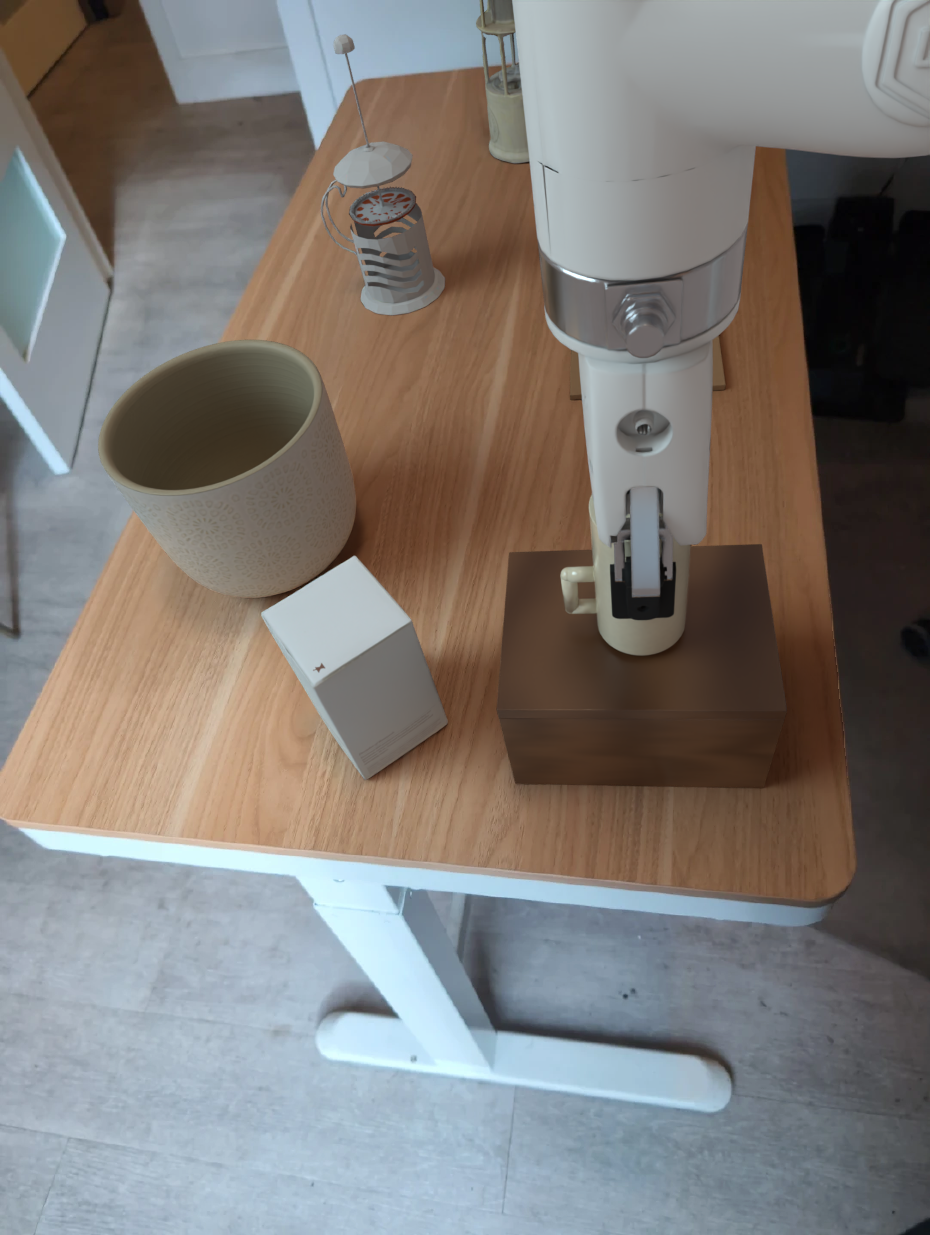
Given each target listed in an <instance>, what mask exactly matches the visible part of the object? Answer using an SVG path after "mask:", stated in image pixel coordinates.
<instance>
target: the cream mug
mask: <svg viewBox="0 0 930 1235" xmlns="http://www.w3.org/2000/svg"><path fill="white" fill-rule="evenodd" d="M659 516H663V514H660V513H659ZM588 518H589V519H588V520H589V532H590V544H591V550H592V560H593V566H579V567H566V568H564V569H563V570H562V571H561V574H560V576H561V584H562V592H563V600H564V608H565V610H566V612H567V613H569V614H597V625H598V629H599V632H600V634H601V635H602V637H603V638H604V640H605V641H606V642H607V643H608V644H609V645H611V646H612V647H613V648H615V649H617V650H619V651H621V652H624V653H627V654H631V655H641V656H643V655H652V654H656V653H659V652H662V651H664V650H666V649H668V648H670V647H671V646H672V645H674V644H675V643H676V642H677V641H678V640H679V638H680V637H681V635H682V633H683V632H684V629H685V624H686V613H687V599H688V585H689V571H690V557H691V546H692V545H682V546H680V545H679V544H678V543H677V541H676V540H675V538H674V537H673V562H676V585H675V605H674V615H673V616H671V617H669V618H655V619H652V620H633V619H616V618H614V617H613V616H612V604H611V583H610V564H614V543H612V548H610V547H608V546H607V545H605V544H604V543H603V542H602V541H601V540H600V539H599V536H598V530H597V524H596V516H595V509H594V503H593V496H592V494H591V495H590V497H589V500H588ZM626 518H630V514H627V516H626ZM659 548H660V558H661V539H659ZM626 556H631V540H625V562H626ZM579 582H594V587H595V598H588V599H579V594H578V584H577V583H579Z"/></svg>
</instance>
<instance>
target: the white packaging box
mask: <svg viewBox="0 0 930 1235" xmlns="http://www.w3.org/2000/svg"><path fill="white" fill-rule="evenodd" d="M260 615H261V618H262V620H263V622H264V624H265V625H266V627H267V629H268V631H269V633H270V635H272V638H273V639H274V640H273V641H275V643H276V644H277V646H278V648H279V650H280V651H281V653H282V655H283V656H284V658H285V660H286V662H287V663H288V664H289V666H290V668H291V670H292V671H293V673H294V674H295V676H296V678H297V679H298V681H299V683H300V684H301V686H302V688H303V689H304V691H305V693H306V694H307V696H308V698H309V700H310V701H311V703H312V705H313V707H314V708H315V710H316V712H317V713H318V715H319V717H320V719H321V720H322V721H323V723H324V724H325V727H326V728H327V729H328V731H329V732H330V734H331V736H332V737H333V738H334V740H335V741H336V743H337V744H338V745H339V747H340V748H341V749H342V751H343V753H344V754H345V755H346V757H347V758H348V759H349V761H350V762H351V764H352V765H353V766H354V767H355V769H356V771H357V772H358V773H359V775H360V776H361V777H362V779H363V780H364V781H367V780H369V779H370V778H371V777H374V776H375V775H377V774H378V773H379V772H381V771H383V769H385V768H387V767H388V766H390V765H391V764H392V763H394V762H396V761H397V760H399V759H400V758H401V757H403V756H404V755H406V754H407V753H408V752H410V751H411V750H413V749H414V748H416V747H417V746H419V745H420V744H421V743H423V742H424V741H426V740H427V739H429V738H430V737H432V736H433V735H434V734H436V733H437V732H439V731H441V729H444V727H445V726H446V725H448V722H449V720H448V717H447V714H446V712H445V710H444V706H443V703H442V700H441V698H440V696H439V692H438V689H437V687H436V684H435V681H434V678H433V675H432V673H431V670H430V667H429V665H428V662H427V659H426V657H425V653H424V651H423V648H422V645H421V642H420V639H419V637H418V634H417V630H416V628H415V625H414V622H413V619H412V618H411V617H410V616H409V615H408V614H407V612H406V611H405V610H404V609H403V607H402V606H401V605H400V604H399V603H398V602H397V601H396V600H395V598H394V597H393V596H392V594H390V593H389V591H388V590H387V589H386V588H385V587H384V586H383V585H382V583H381V582H380V581H379V580H378V578H377V577H376V576H374V575H373V573H372V572H371V570H370V569H368V568H367V567H366V565H365V564H364V563H363V562H362V561H361V560H360V559H359V558H358V556H356V555H353V556H351V557H350V558H348V559H347V560H345V561H343V562H342V563H340V564H338V565H336V566H334V567H333V568H332V569H330V570H328V571H327V572H325V573H324V574H322V575H320V576H318V577H317V578H315V579H313V580H312V581H310V582H309V583H308V584H306V585H304V586H303V587H302V588H300V589H298V590H296V591H295V592H293V593H292V594H290V595H289V596H287V597H285V598H283V599H282V600H280V601H278V602H277V603H275V604H273V605H271V606H270V607H268V608H266V609H265V610H263V611H261V613H260Z"/></svg>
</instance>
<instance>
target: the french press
mask: <svg viewBox="0 0 930 1235" xmlns="http://www.w3.org/2000/svg"><path fill="white" fill-rule="evenodd" d="M332 46H333V51H334V53H335V54H336V55H344V56H345V60H346V65H347V69H348V73H349V77H350V82H351V85H352V88H353V89H352V90H353V94H354V98H355V102H356V106H357V111H358V114H359V117H360V122H361V126H362V130H363V134H364V139H365V143H366V144H363V145H361V146H358V147H356V148H354V149H351V150H350V151H349V152H348V153H346V155H344V156H343V157H342V159H341V160H340V161H339V162H338V163H337V164H335V166H334V168H333V173H332V175H333V177H334V178H335V179H334V180H332V181H331V182H330V184H329V185H328V187H327V189H326V191H325V193H324V194H323V196H322V198H321V202H320V203H321V204H320V217H321V220H322V222H323V225H324V229H325V231H326V232H327V234H328V236H329V237H330V238H331V239H332V241H333V242H334V243H335V244H336V245H337V246H339V247H340V248H341V249H342V250H344V251H347V252H350V253H351V254H354V255H355V256H356V258H357V261H358V266H359V268H360V271H361V276H362V278H363V282H364V286H363V288H362V289H361V291H360V292H361V294H360V302H361V303H362V305H363V306H364V308H365V309H366V310H368V311H370V312H373V313H375V314H377V315H386V316H396V315H405V314H410V313H412V312H416V311H419V310H420V309H423V308H425V307H428V306H429V305H430V304H431V303H433V302H434V301H436V300H437V299H438V298H439V297H440V295H441V294H442V292H443V291H444V289H445V288H446V286H445V285H446V277H445V276H444V275H443V273H442V272H441V270H439V269H438V268H436V267H434V264H433V259H432V254H431V251H430V250H431V249H430V245H429V240H428V236H427V231H426V227H425V221H424V217H423V212H422V209H421V207H420V206H419V204H418V203H417V196H416V195H415V193H414V192H413V191H412V190H411V189H407V188H405V187H402V186H398V187H397V186H389V187H388V186H386V187H383V188H382V187H381V186H384V185H387V184H391V183H393V182H395V181H396V180H398V179H400V178H401V177H403V176H405V175H406V173H407V172H408V171H409V170H410V169H411V167H412V162H413V156H414V155H413V154H412V153H411V151H410V150H409V148H406V147H404V146H401V145H399V144H396V143H391V142H388V141H373V142H369V139H368V135H367V130H366V126H365V122H364V118H363V114H362V109H361V104H360V101H359V97H358V93H357V89H356V85H355V80H354V77H353V72H352V68H351V65H350V59H349V55H348V54H349V53H351V52H353V51H354V50H355V49H356V47H355V43H354V39H353V38H352V37H351V36H350V35H348V34H347V33H345V34H339V35H338V36H336V37H335V38H334V40H333V44H332ZM336 183H338V184H340V185H342V186H343V188H344V190H343V191H342V188H341V187H340V186H339V185H335V184H336ZM348 188H349V189H370V188H376V189H374V190H371V191H368V192H365V193H363V194H362V195H360V196H358V198H356V199H355V200H354V201H352V203H351V205H349V209H348V215H349V217H350V218H351V220H352V221H353V224H354V227H355V231H356V234H355V232H354V229H353V228H354V227H353V224H352V223H350V225H349V230H350V234H351V237H352V239H351V238H349V237H348V236H346V235H345V234H344V233H342V232H341V231H340V229H339V228H338V226H336V223H335V222H334V220H333V218H332V215H331V212H330V207H329V194H330V192H331V191H332V190H334V189H337V191H338V193H339V196H340V197H341V198H345V197H346V194H347V191H348ZM324 206H325V209H326V213H327V217H328V219H329V221H330V223H331V225H332V226H333V228H334V229H335V231H336V232H337V233H338V235H339V236H341V237H342V238H343V239H344V240H346V241H347V242H350V243H352V244H354V248H355V250H356V251H354V250H352V249H350V248H348V247H345V245H343V244H342V243H340V242H338V241H337V239H336V238H335V237H334V236H333V234H332V233H331V231H330V229H329V228H328V225H327V222H326V218H325V216H324ZM406 216H408V217H409V218H411V219H413V220H414V221H415V223H413V222H411V221H409V220H408V219H406V218H404V217H406ZM393 223H401V224H404V225H406V226H407V227H409V228H408V229H407V228H405V227H403V226H390V227H387V228H386V229H384V230H382V231H380V233H378V234H377V235H376V236H375V233H376V232H377V231H378V230H379V229H380V227H382V226H386V225H391V224H393ZM391 234H396V235H393V236H389V235H391ZM387 236H388V237H387ZM413 250H416V252H414V251H413ZM360 251H361V252H360ZM382 253H385V254H384V255H383V256H381V254H382ZM363 262H364V264H363ZM366 272H367V274H366Z"/></svg>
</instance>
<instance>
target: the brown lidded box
mask: <svg viewBox="0 0 930 1235" xmlns="http://www.w3.org/2000/svg"><path fill="white" fill-rule="evenodd" d="M579 566H593V560H592V549H569V550H566V549H565V550H539V551H538V550H537V551H535V550H534V551H510V552H508V560H507V572H506V583H505V584H506V586H505V598H504V612H503V623H502V624H503V625H502V634H501V635H502V636H501V637H502V639H501V648H500V649H501V650H500V660H499V661H500V662H499V674H498V685H497V686H498V687H497V701H496V714H497V716H498V721H499V725H500V729H501V733H502V737H503V742H504V745H505V749H506V753H507V756H508V761H509V765H510V768H511V772H512V776H513V780H514V784H515V785H517V784H518V785H561V786H562V785H563V786H565V785H568V786H569V785H570V786H576V785H577V786H620V787H623V786H624V787H627V786H628V787H674V788H675V787H677V788H679V787H681V788H683V787H684V788H733V789H734V788H735V789H737V788H738V789H764V788H765V784H766V781H767V778H768V775H769V771H770V768H771V765H772V762H773V758H774V755H775V752H776V749H777V745H778V741H779V739H780V736H781V731H782V729H783V725H784V723H785V718H786V715H787V711H788V707H787V701H786V695H785V694H786V693H785V687H784V681H783V676H782V669H781V660H780V655H779V647H778V642H777V634H776V629H775V628H776V627H775V621H774V616H773V609H772V603H771V595H770V589H769V583H768V577H767V576H768V575H767V571H766V570H767V569H766V562H765V557H764V550H763V545H762V544H761V543H752V544H749V543H748V544H722V545H721V544H719V545H717V544H716V545H691V557H690V571H689V585H688V599H687V613H686V624H685V629H684V632H683V633H682V635H681V637H680V638H679V640H678V641H677V642H676V643H675V644H674V645H672V646H671V647H670V648H668V649H666V650H664V651H662V652H659V653H656V654H652V655H643V656H641V655H631V654H627V653H624V652H621V651H619V650H617V649H615V648H613V647H612V646H611V645H609V644H608V643H607V642H606V641H605V640H604V638H603V637H602V635H601V634H600V632H599V629H598V625H597V614H569V613H567V612H566V610H565V608H564V600H563V592H562V584H561V576H560V574H561V571H562V570H563V569H564V568H566V567H579ZM577 584H578V594H579V599H588V598H595V587H594V582H579V583H577Z"/></svg>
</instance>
